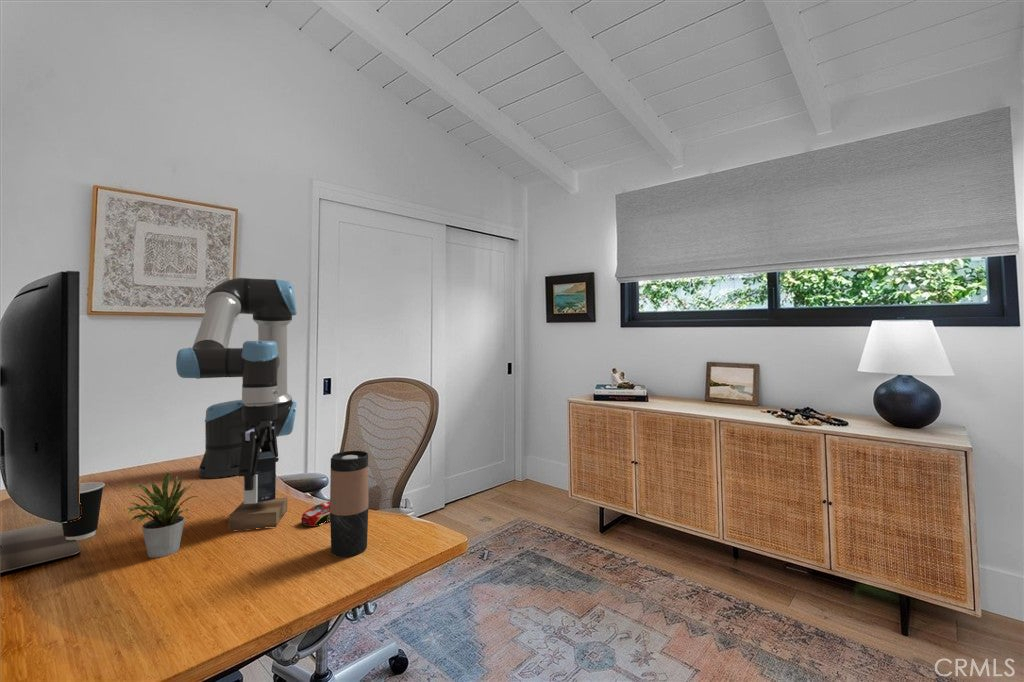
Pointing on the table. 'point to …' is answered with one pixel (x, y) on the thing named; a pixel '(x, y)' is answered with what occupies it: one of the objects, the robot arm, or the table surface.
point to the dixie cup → (86, 512)
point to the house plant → (162, 518)
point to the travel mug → (349, 503)
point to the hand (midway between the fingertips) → (259, 495)
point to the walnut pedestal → (258, 514)
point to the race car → (317, 514)
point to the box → (266, 477)
